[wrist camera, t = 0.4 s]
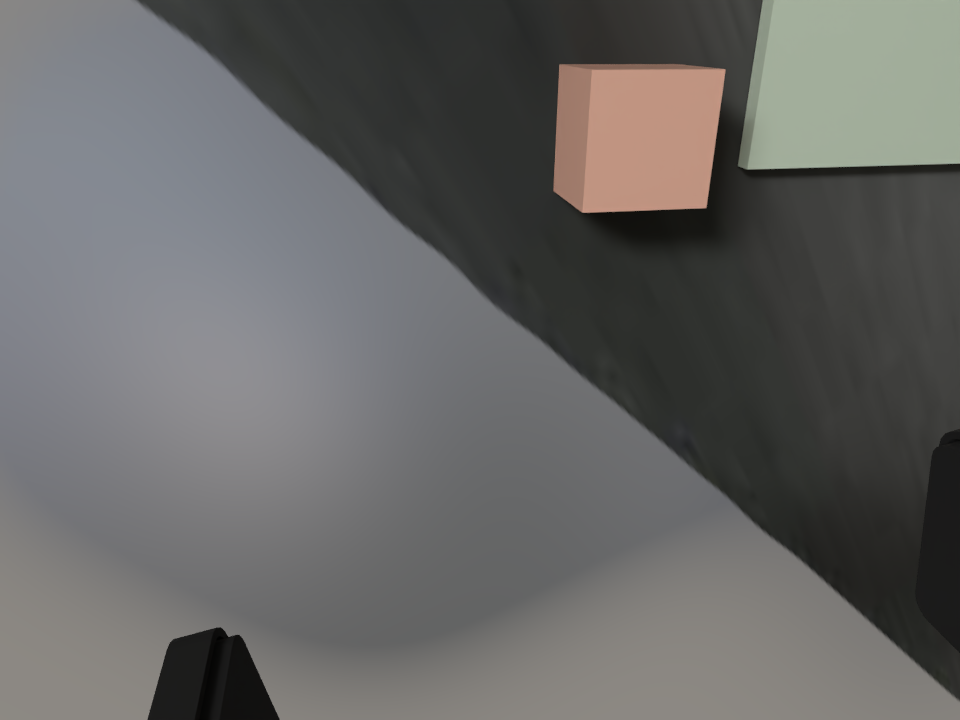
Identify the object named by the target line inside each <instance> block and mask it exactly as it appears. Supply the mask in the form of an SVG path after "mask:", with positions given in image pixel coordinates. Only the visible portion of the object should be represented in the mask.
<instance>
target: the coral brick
mask: <svg viewBox="0 0 960 720" xmlns="http://www.w3.org/2000/svg"><path fill="white" fill-rule="evenodd" d="M725 70H726V69H718V68H709V67H700V66H690V65H681V64H560V66H559V87H558V108H557V129H556V150H555V171H554V192H556V193H557V194H558V195H560V196H561V197H562V198H564V199H565V200H566V201H568V202H569V203H570V204H572V205H573V206H574V207H575V208H577V209H578V210H579V211H581V212H582V213H592V212H618V211H645V210H671V209H698V208H706V207H707V200H708V193H709V186H710V178H711V171H712V164H713V157H714V149H715V142H716V135H717V128H718V121H719V113H720V106H721V99H722V92H723V84H724V77H725Z"/></svg>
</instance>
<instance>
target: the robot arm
mask: <svg viewBox="0 0 960 720" xmlns="http://www.w3.org/2000/svg"><path fill="white" fill-rule="evenodd" d="M916 600H917V604H918V606H919V608H920V610H921V612H922V613H923V615H924V617H925V618H926V619H927V620H928V621H929V622H930V623H931V624H932V625H933V626H934V627H935V628H936V629H937V630H938V631H939V632H940V633H941V634H942V635H943V636H944V637H945V638H946V639H947V640H948V641H949V642H950V643H951V644H952V645H953V646H954V647H955V648H956V649H957V650H958V651H959V652H960V429H958V430H955V431H951V432H948V433H946V434H945V435H944V436H943V437H942V438H941V441H940V444H939V447H936V448H935V450H934V451H933V454H932V459H931V467H930V476H929V484H928V492H927V500H926V509H925V517H924V525H923V534H922V542H921V550H920V558H919V567H918V575H917V583H916ZM148 720H279V717H278V715H277V713H276V711H275V708H274V706H273V704H272V702H271V700H270V698H269V695H268V693H267V691H266V689H265V686H264V684H263V682H262V680H261V678H260V675H259V673H258V671H257V669H256V667H255V665H254V662H253V660H252V658H251V655H250V653H249V651H248V649H247V647H246V644H245V642H244V640H243V639H242V638H241V636H240V635H235V636H231V637H228V636H227V634H226V632H225V631H224V630H223V629H222V628H214V629H210V630H206V631H203V632H199V633H195V634H192V635H188V636H184V637H180V638H177V639H173V640H172V641H171V642H170V644H169V646H168V649H167V651H166V655H165V659H164V662H163V666H162V669H161V673H160V677H159V680H158V684H157V688H156V691H155V695H154V699H153V702H152V706H151V709H150V713H149V716H148Z"/></svg>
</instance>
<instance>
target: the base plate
mask: <svg viewBox="0 0 960 720" xmlns="http://www.w3.org/2000/svg"><path fill="white" fill-rule="evenodd" d="M926 164H960V0H763V3H762V10H761V16H760V23H759V29H758V36H757V42H756V49H755V56H754V62H753V69H752V75H751V82H750V89H749V95H748V102H747V108H746V115H745V122H744V128H743V135H742V141H741V148H740V155H739V161H738V167H741V168H744V169H747V170H749V169H784V168H820V167H855V166H890V165H926Z"/></svg>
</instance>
